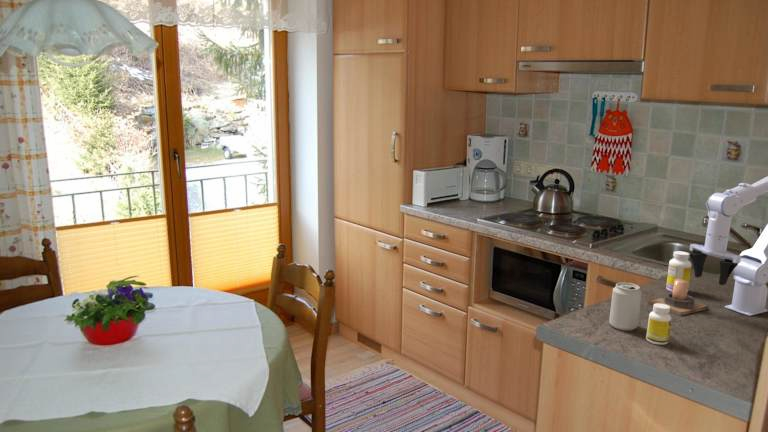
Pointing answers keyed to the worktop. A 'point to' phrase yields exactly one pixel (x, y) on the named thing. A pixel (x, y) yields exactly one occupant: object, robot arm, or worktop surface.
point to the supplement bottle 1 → (659, 324)
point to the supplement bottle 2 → (678, 269)
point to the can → (625, 306)
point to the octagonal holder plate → (680, 304)
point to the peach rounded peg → (680, 289)
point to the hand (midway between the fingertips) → (710, 280)
